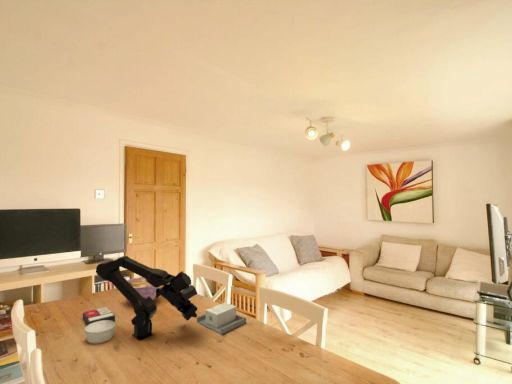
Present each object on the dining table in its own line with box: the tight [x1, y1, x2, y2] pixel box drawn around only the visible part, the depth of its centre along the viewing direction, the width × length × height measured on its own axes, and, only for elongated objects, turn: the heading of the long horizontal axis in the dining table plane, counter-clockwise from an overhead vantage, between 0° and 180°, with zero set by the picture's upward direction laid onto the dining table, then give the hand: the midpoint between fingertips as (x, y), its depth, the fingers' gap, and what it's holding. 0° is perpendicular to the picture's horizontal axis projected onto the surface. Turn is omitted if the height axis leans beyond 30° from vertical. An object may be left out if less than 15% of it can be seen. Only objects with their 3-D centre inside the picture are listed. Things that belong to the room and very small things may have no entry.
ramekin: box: [84, 320, 116, 345], centre depth 118 cm, size 11×11×5 cm
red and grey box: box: [82, 306, 116, 327], centre depth 134 cm, size 11×4×15 cm
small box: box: [205, 301, 237, 328], centre depth 134 cm, size 8×6×13 cm
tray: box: [196, 313, 247, 336], centre depth 134 cm, size 15×18×2 cm
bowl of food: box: [126, 276, 160, 301], centre depth 158 cm, size 20×20×12 cm
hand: (196, 316), depth 126 cm, fingers closed
